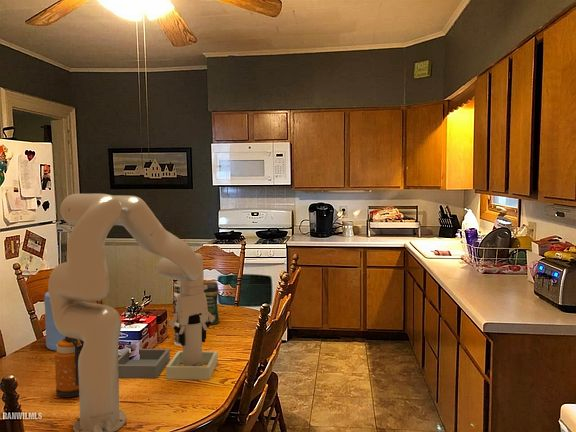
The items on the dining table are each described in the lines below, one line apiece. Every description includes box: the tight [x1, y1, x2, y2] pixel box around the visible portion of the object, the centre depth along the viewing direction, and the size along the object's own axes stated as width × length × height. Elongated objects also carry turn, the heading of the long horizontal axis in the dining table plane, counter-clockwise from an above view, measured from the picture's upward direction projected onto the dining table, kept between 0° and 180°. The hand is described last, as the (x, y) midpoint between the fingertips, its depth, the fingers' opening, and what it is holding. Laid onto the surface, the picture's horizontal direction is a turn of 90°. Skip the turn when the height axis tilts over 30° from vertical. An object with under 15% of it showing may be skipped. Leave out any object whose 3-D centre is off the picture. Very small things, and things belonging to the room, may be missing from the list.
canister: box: [54, 336, 84, 398], centre depth 132 cm, size 9×11×20 cm
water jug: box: [43, 291, 90, 352], centre depth 174 cm, size 16×16×28 cm
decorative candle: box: [172, 280, 183, 347], centre depth 175 cm, size 9×9×25 cm
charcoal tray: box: [118, 348, 171, 379], centre depth 151 cm, size 15×15×4 cm
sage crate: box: [165, 350, 219, 381], centre depth 149 cm, size 14×14×4 cm
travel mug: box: [182, 313, 203, 366], centre depth 149 cm, size 6×7×20 cm
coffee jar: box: [203, 281, 220, 326], centre depth 201 cm, size 10×8×19 cm
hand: (192, 342), depth 149 cm, fingers closed on travel mug, 6 cm apart
